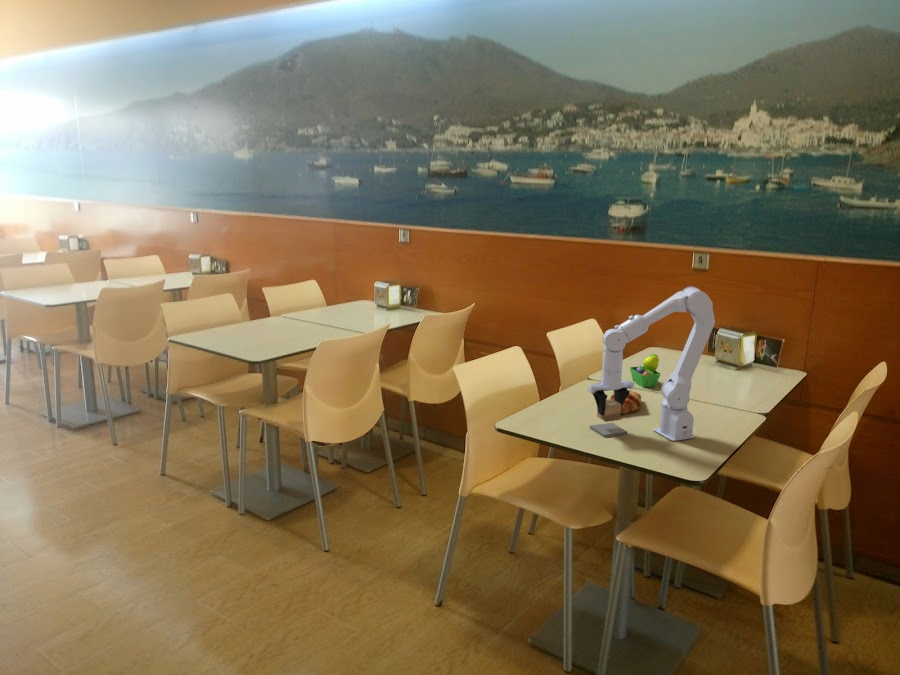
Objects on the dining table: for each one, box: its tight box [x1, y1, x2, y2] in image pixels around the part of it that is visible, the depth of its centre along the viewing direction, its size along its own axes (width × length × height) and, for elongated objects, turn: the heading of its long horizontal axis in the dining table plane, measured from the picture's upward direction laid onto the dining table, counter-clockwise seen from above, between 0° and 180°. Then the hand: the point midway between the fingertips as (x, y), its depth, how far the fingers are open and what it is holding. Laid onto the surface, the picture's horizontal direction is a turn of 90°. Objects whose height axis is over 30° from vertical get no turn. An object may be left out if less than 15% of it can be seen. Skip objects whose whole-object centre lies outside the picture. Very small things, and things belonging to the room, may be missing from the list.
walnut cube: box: [596, 398, 622, 423], centre depth 205 cm, size 5×5×5 cm
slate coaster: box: [589, 422, 628, 438], centre depth 207 cm, size 8×8×1 cm
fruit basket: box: [629, 353, 662, 388], centre depth 253 cm, size 11×9×11 cm
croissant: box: [610, 389, 642, 415], centre depth 227 cm, size 21×10×8 cm, turn 143°
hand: (609, 413), depth 205 cm, fingers closed on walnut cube, 5 cm apart
